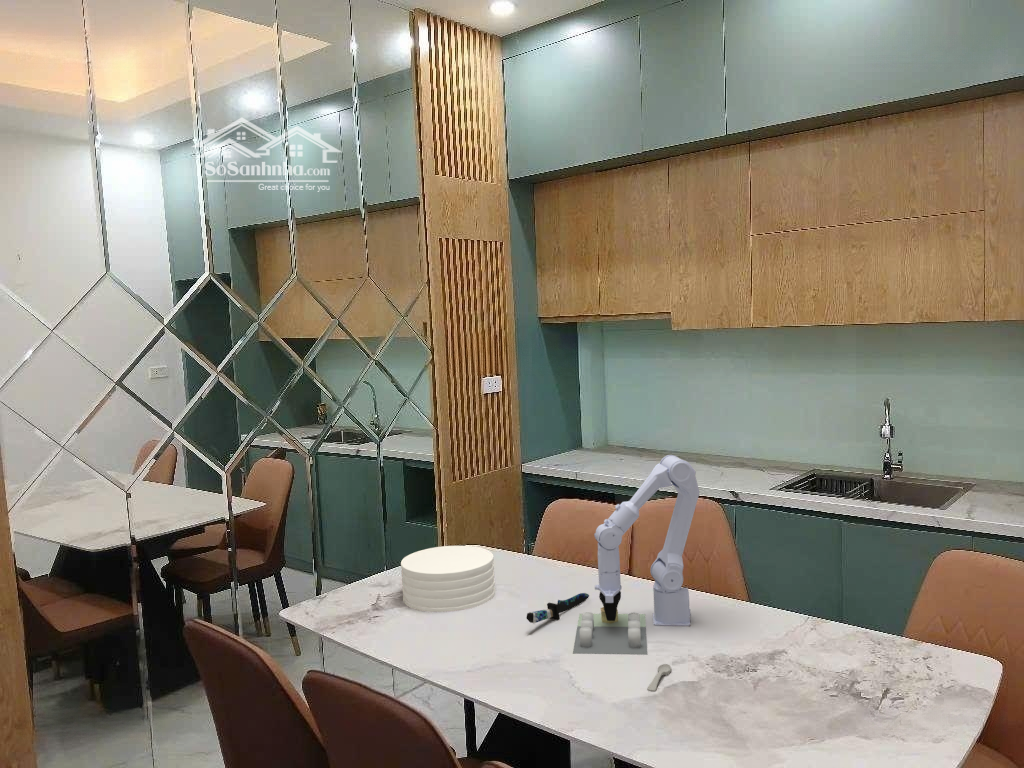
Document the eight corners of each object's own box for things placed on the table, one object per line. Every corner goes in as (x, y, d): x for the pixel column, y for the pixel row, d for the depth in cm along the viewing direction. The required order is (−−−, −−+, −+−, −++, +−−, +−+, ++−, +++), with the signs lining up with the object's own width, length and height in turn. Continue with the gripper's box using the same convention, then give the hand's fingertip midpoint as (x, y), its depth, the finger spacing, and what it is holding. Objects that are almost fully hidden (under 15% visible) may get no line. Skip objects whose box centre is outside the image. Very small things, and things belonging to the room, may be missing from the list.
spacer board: (645, 614, 211) (644, 599, 211) (647, 655, 185) (646, 638, 185) (579, 614, 214) (578, 599, 213) (572, 654, 188) (572, 637, 188)
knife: (530, 630, 200) (530, 613, 200) (520, 628, 202) (521, 610, 202) (596, 606, 224) (597, 591, 224) (587, 604, 226) (588, 589, 226)
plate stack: (444, 575, 254) (442, 541, 253) (513, 589, 238) (511, 552, 237) (383, 602, 232) (381, 565, 231) (454, 619, 215) (452, 579, 214)
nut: (616, 616, 210) (616, 605, 210) (618, 623, 205) (618, 612, 205) (600, 616, 210) (600, 605, 210) (602, 623, 205) (602, 612, 205)
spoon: (673, 670, 177) (673, 662, 177) (657, 697, 167) (657, 688, 166) (661, 668, 179) (660, 660, 178) (644, 694, 168) (644, 686, 168)
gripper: (595, 561, 211) (597, 609, 212) (592, 578, 197) (594, 630, 198) (621, 561, 210) (622, 609, 211) (620, 578, 196) (622, 630, 197)
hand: (611, 619), depth 204 cm, fingers closed
